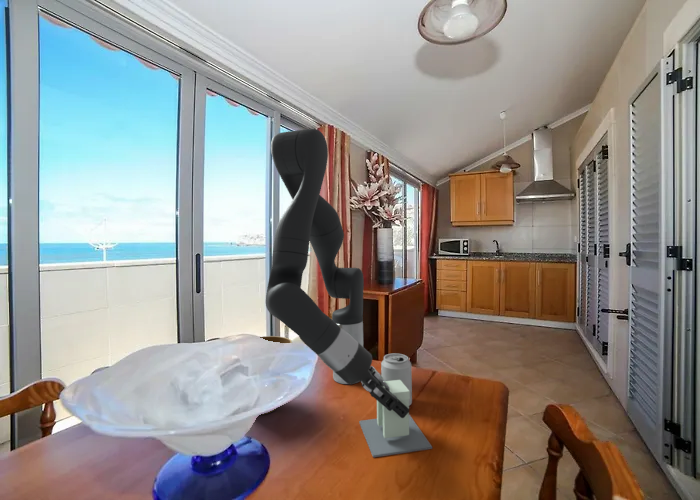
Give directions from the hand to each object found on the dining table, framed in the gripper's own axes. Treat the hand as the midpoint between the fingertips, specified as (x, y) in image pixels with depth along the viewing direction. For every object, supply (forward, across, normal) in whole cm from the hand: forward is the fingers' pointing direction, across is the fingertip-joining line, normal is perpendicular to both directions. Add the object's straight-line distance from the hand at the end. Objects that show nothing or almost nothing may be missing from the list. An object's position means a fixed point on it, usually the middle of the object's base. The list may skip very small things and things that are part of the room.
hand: (400, 405), depth 67 cm
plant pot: (-17, +18, +25) cm, 35 cm away
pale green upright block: (+2, 0, +5) cm, 5 cm away
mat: (+3, 0, +5) cm, 6 cm away
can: (+7, +12, +2) cm, 14 cm away
